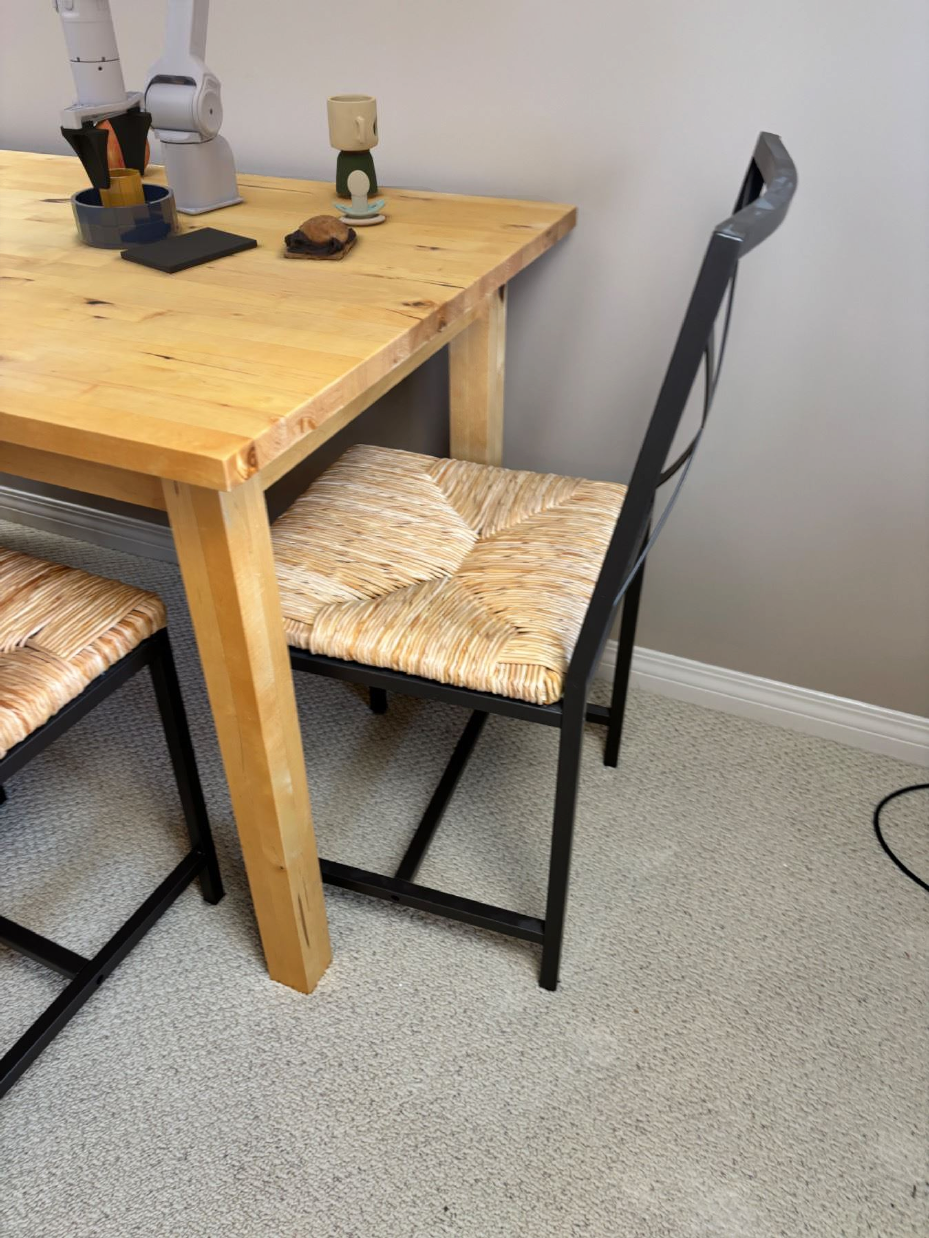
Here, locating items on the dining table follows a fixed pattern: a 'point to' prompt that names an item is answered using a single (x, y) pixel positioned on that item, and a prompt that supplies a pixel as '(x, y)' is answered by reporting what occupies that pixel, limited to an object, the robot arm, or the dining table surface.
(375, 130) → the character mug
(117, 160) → the fruit
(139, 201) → the cup
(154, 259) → the pot holder
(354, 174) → the pacifier
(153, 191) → the pot
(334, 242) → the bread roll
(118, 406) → the dining table surface
